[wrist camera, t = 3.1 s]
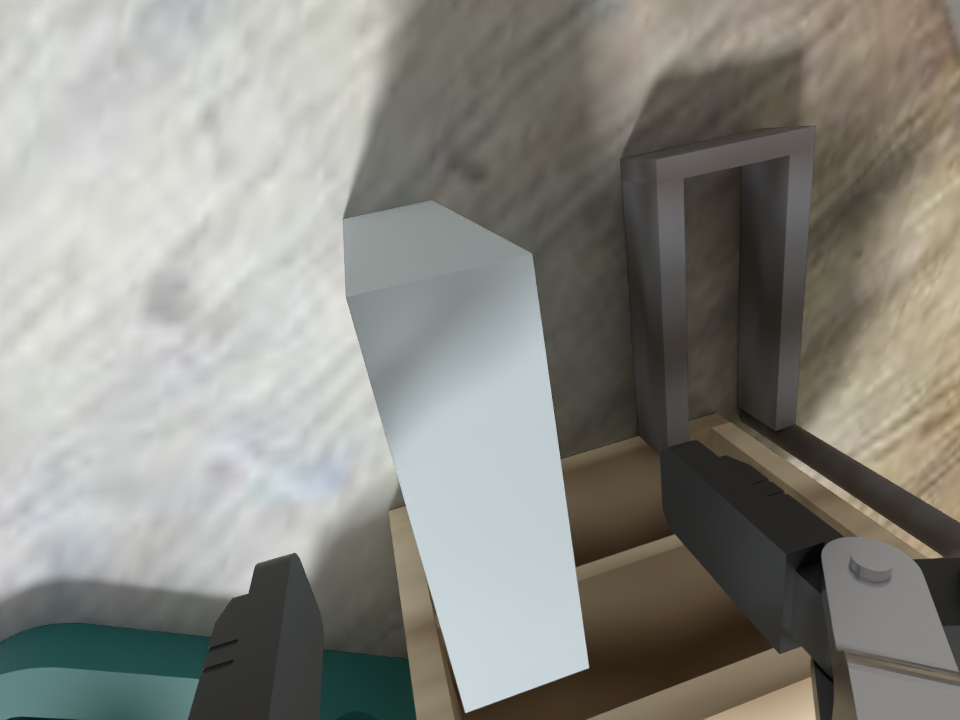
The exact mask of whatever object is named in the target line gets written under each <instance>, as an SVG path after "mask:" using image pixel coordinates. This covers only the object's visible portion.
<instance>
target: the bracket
mask: <svg viewBox="0 0 960 720" xmlns="http://www.w3.org/2000/svg"><path fill="white" fill-rule="evenodd" d="M210 640H211V637H203V636H194V635H185V634H176V633H167V632H157V631H148V630H139V629H130V628H121V627H112V626H102V625H93V624H82V623H61V624H51V625H45V626H40V627H36V628H32V629H29V630H26V631H23V632H20V633H18V634H15V635H13V636H11V637H9V638H7V639H5V640H4V641H2V642H1V643H0V720H188V717H189V714H190V710H191V707H192V703H193V700H194V696H195V692H196V689H197V685H198V682H199V678H200V675H201V674H203V670H202V668H203V664H204V661H205V657H206V654H207V653H209V649H208V647H209V643H210ZM320 720H417V718H416V710H415V703H414V696H413V688H412V681H411V674H410V666H409V659H405V658H396V657H387V656H377V655H368V654H359V653H350V652H341V651H332V650H323V661H322V681H321V701H320Z"/></svg>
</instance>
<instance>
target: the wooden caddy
mask: <svg viewBox="0 0 960 720" xmlns="http://www.w3.org/2000/svg"><path fill="white" fill-rule="evenodd" d="M815 133H816V126H799V127H781V128H764V129H759V130H755V131H750V132H745V133H740V134H736V135H731V136H726V137H722V138H717V139H712V140H707V141H703V142H698V143H693V144H688V145H684V146H679V147H674V148H670V149H665V150H660V151H655V152H651V153H646V154H641V155H636V156H632V157H627V158H622V159H621V174H622V189H623V204H624V219H625V234H626V249H627V264H628V279H629V295H630V310H631V325H632V340H633V355H634V370H635V385H636V400H637V415H638V430H639V436H637V437H633V438H630V439H627V440H623V441H620V442H617V443H613V444H610V445H607V446H603V447H600V448H597V449H593V450H590V451H587V452H583V453H580V454H577V455H573V456H570V457H567V458H563V459H560V460H561V467H562V474H563V481H564V489H565V496H566V503H567V510H568V518H569V525H570V532H571V540H572V547H573V554H574V561H575V569H576V576H577V583H578V590H579V598H580V605H581V612H582V620H583V627H584V634H585V641H586V649H587V656H588V663H589V668H588V669H585V670H582V671H580V672H577V673H574V674H571V675H569V676H566V677H563V678H560V679H558V680H555V681H552V682H549V683H547V684H544V685H541V686H538V687H536V688H533V689H530V690H527V691H525V692H522V693H519V694H517V695H514V696H511V697H508V698H506V699H503V700H500V701H497V702H495V703H492V704H489V705H486V706H484V707H481V708H478V709H475V710H473V711H470V712H467V713H465V710H464V707H463V703H462V700H461V696H460V693H459V689H458V686H457V682H456V679H455V675H454V672H453V668H452V665H451V661H450V658H449V654H448V651H447V647H446V644H445V640H444V637H443V633H442V630H441V626H440V623H439V619H438V616H437V613H436V609H435V606H434V602H433V599H432V595H431V592H430V588H429V585H428V581H427V578H426V574H425V571H424V567H423V564H422V560H421V557H420V553H419V550H418V546H417V543H416V539H415V536H414V532H413V529H412V525H411V522H410V518H409V515H408V512H407V508H406V506H403V507H400V508H396V509H393V510H390V511H388V513H389V520H390V527H391V535H392V542H393V549H394V557H395V564H396V571H397V579H398V586H399V593H400V601H401V608H402V615H403V623H404V630H405V637H406V644H407V652H408V659H409V666H410V674H411V681H412V688H413V696H414V703H415V710H416V718H417V720H816V717H815V708H814V699H813V690H812V681H811V672H810V662H811V656H810V655H809V654H808V653H807V652H806V651H805V650H804V649H803V648H802V647H799V648H796V649H793V650H790V651H788V652H785V653H782V654H779V653H778V652H777V651H776V650H775V649H774V647H773V646H772V645H771V644H770V643H769V642H768V641H767V639H766V638H765V637H764V636H763V635H762V634H761V633H760V631H759V630H758V629H757V628H756V627H755V626H754V625H753V623H752V622H751V621H750V620H749V619H748V618H747V616H746V615H745V614H744V613H743V612H742V611H741V610H740V608H739V607H738V606H737V605H736V604H735V603H734V602H733V600H732V599H731V598H730V597H729V596H728V595H727V594H726V592H725V591H724V590H723V589H722V588H721V587H720V586H719V584H718V583H717V582H716V581H715V580H714V579H713V577H712V576H711V575H710V574H709V573H708V572H707V571H706V569H705V568H704V567H703V566H702V565H701V564H700V563H699V561H698V560H697V559H696V558H695V557H694V556H693V555H692V553H691V552H690V551H689V550H688V549H687V548H686V547H685V545H684V544H683V543H682V542H681V541H680V540H679V538H678V537H677V536H676V535H675V534H674V533H673V531H672V530H671V528H670V526H669V525H668V523H667V520H666V518H665V515H664V512H663V507H662V489H661V466H660V454H661V451H662V450H663V449H664V448H667V447H671V446H674V445H678V444H681V443H685V442H688V441H692V440H697V441H699V442H701V443H702V444H703V445H705V446H706V447H707V448H708V449H710V450H711V451H712V452H713V453H715V454H716V455H717V456H718V457H721V456H724V455H727V456H729V457H732V458H734V459H737V460H739V461H742V462H744V463H747V464H749V465H751V466H752V467H753V468H755V469H756V470H757V471H759V472H760V473H761V474H763V475H764V476H765V477H767V478H768V480H769V482H773V483H774V484H776V485H777V486H778V487H780V488H781V489H782V490H784V493H785V494H789V495H790V496H792V497H793V498H794V499H795V500H797V501H798V502H799V503H801V504H802V505H803V506H805V507H806V508H807V509H809V510H810V511H811V512H813V513H814V514H815V515H817V516H818V517H819V518H820V519H822V520H823V521H824V522H826V523H827V524H828V525H830V526H831V527H832V528H834V529H835V530H836V531H838V532H839V533H840V534H841V535H843V536H844V537H863V538H869V539H873V540H877V541H880V542H883V543H886V544H889V545H891V546H893V547H895V548H897V549H899V550H900V551H902V552H904V553H905V554H906V555H908V556H909V557H910V558H911V559H928V558H927V557H925V556H924V555H922V554H921V553H919V552H918V551H916V550H915V549H914V548H912V547H911V546H909V545H908V544H906V543H905V542H903V541H902V540H901V539H899V538H898V537H896V536H895V535H893V534H892V533H890V532H889V531H888V530H886V529H885V528H883V527H882V526H880V525H879V524H877V523H876V522H875V521H873V520H872V519H870V518H869V517H867V516H866V515H864V514H863V513H862V512H860V511H859V510H857V509H856V508H854V507H853V506H851V505H850V504H849V503H847V502H846V501H844V500H843V499H841V498H840V497H838V496H837V495H836V494H834V493H833V492H831V491H830V490H828V489H827V488H825V487H824V486H823V485H821V484H820V483H818V482H817V481H815V480H814V479H812V478H811V477H810V476H808V475H807V474H805V473H804V472H802V471H801V470H799V469H798V468H797V467H795V466H794V465H792V464H791V463H789V462H788V461H786V460H785V459H784V458H782V457H781V456H779V455H778V454H776V453H775V452H773V451H772V450H770V449H769V448H768V447H766V446H765V445H763V444H762V443H760V442H759V441H757V440H756V439H755V438H753V437H752V436H750V435H749V434H747V433H746V432H744V431H743V430H742V429H740V428H739V427H737V426H736V425H734V424H733V423H731V422H730V421H729V420H727V419H726V418H724V417H723V416H721V415H720V414H718V413H714V414H710V415H707V416H704V417H700V418H697V419H694V420H690V421H689V400H688V355H687V311H686V266H685V221H684V179H685V178H689V177H694V176H698V175H703V174H707V173H712V172H716V171H721V170H725V169H730V168H734V167H739V166H742V185H741V238H740V290H739V343H738V396H737V407H739V408H741V409H742V412H741V420H742V421H743V422H744V423H745V424H747V425H748V426H750V427H751V428H753V429H754V430H756V431H757V432H759V433H760V434H762V435H763V436H765V437H766V438H768V439H769V440H771V441H772V442H774V443H775V444H776V445H778V446H779V447H781V448H782V449H784V450H785V451H787V452H788V453H790V454H791V455H793V456H794V457H796V458H797V459H799V460H800V461H802V462H803V463H805V464H806V465H808V466H809V467H811V468H812V469H814V470H815V471H817V472H818V473H820V474H821V475H823V476H824V477H826V478H827V479H829V480H830V481H832V482H833V483H835V484H836V485H838V486H839V487H841V488H842V489H844V490H845V491H847V492H848V493H850V494H851V495H853V496H854V497H855V498H857V499H858V500H860V501H861V502H863V503H864V504H866V505H867V506H869V507H870V508H872V509H873V510H875V511H876V512H878V513H879V514H881V515H882V516H884V517H885V518H887V519H888V520H890V521H891V522H893V523H894V524H896V525H897V526H899V527H900V528H902V529H903V530H905V531H906V532H908V533H909V534H911V535H912V536H914V537H915V538H917V539H918V540H920V541H921V542H923V543H924V544H926V545H927V546H929V547H930V548H932V549H933V550H934V551H936V552H937V553H939V554H940V555H942V556H943V557H945V558H960V523H959V522H957V521H956V520H954V519H952V518H951V517H949V516H947V515H946V514H944V513H942V512H941V511H939V510H937V509H936V508H934V507H932V506H931V505H929V504H927V503H926V502H924V501H922V500H921V499H919V498H917V497H916V496H914V495H912V494H911V493H909V492H907V491H906V490H904V489H902V488H901V487H899V486H897V485H896V484H894V483H892V482H891V481H889V480H887V479H886V478H884V477H882V476H881V475H879V474H877V473H876V472H874V471H872V470H871V469H869V468H867V467H866V466H864V465H862V464H861V463H859V462H857V461H856V460H854V459H852V458H851V457H849V456H847V455H846V454H844V453H842V452H841V451H839V450H837V449H836V448H834V447H832V446H831V445H829V444H827V443H826V442H824V441H822V440H821V439H819V438H817V437H816V436H814V435H812V434H811V433H809V432H807V431H806V430H804V429H802V428H801V427H799V426H797V425H796V424H795V421H796V407H797V392H798V378H799V364H800V349H801V335H802V320H803V306H804V291H805V277H806V263H807V248H808V234H809V219H810V205H811V190H812V176H813V162H814V147H815Z"/></svg>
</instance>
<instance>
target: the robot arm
mask: <svg viewBox="0 0 960 720" xmlns="http://www.w3.org/2000/svg"><path fill="white" fill-rule="evenodd" d="M660 466H661V489H662V507H663V512H664V515H665V518H666V520H667V523H668V525H669V526H670V528H671V530H672V531H673V533H674V534H675V535H676V536H677V537H678V538H679V540H680V541H681V542H682V543H683V544H684V545H685V547H686V548H687V549H688V550H689V551H690V552H691V553H692V555H693V556H694V557H695V558H696V559H697V560H698V561H699V563H700V564H701V565H702V566H703V567H704V568H705V569H706V571H707V572H708V573H709V574H710V575H711V576H712V577H713V579H714V580H715V581H716V582H717V583H718V584H719V586H720V587H721V588H722V589H723V590H724V591H725V592H726V594H727V595H728V596H729V597H730V598H731V599H732V600H733V602H734V603H735V604H736V605H737V606H738V607H739V608H740V610H741V611H742V612H743V613H744V614H745V615H746V616H747V618H748V619H749V620H750V621H751V622H752V623H753V625H754V626H755V627H756V628H757V629H758V630H759V631H760V633H761V634H762V635H763V636H764V637H765V638H766V639H767V641H768V642H769V643H770V644H771V645H772V646H773V647H774V649H775V650H776V651H777V652H778V653H779V654H782V653H785V652H788V651H790V650H793V649H796V648H799V647H802V648H803V649H804V650H805V651H806V652H807V653H808V654H809V655H810V656H811V662H810V672H811V681H812V690H813V699H814V708H815V717H816V720H960V558H935V559H911V558H910V557H909V556H908V555H906V554H905V553H904V552H902V551H900V550H899V549H897V548H895V547H893V546H891V545H889V544H886V543H883V542H880V541H877V540H873V539H869V538H863V537H844V536H843V535H841V534H840V533H839V532H838V531H836V530H835V529H834V528H832V527H831V526H830V525H828V524H827V523H826V522H824V521H823V520H822V519H820V518H819V517H818V516H817V515H815V514H814V513H813V512H811V511H810V510H809V509H807V508H806V507H805V506H803V505H802V504H801V503H799V502H798V501H797V500H795V499H794V498H793V497H792V496H790V495H789V494H785V493H784V490H782V489H781V488H780V487H778V486H777V485H776V484H774V483H773V482H769V480H768V478H767V477H765V476H764V475H763V474H761V473H760V472H759V471H757V470H756V469H755V468H753V467H752V466H751V465H749V464H747V463H744V462H742V461H739V460H737V459H734V458H732V457H729V456H727V455H724V456H721V457H718V456H717V455H716V454H715V453H713V452H712V451H711V450H710V449H708V448H707V447H706V446H705V445H703V444H702V443H701V442H699V441H697V440H692V441H688V442H685V443H681V444H678V445H674V446H671V447H667V448H664V449H663V450H662V451H661V454H660ZM208 649H209V653H207V654H206V657H205V661H204V664H203V668H202V670H203V674H201V675H200V678H199V682H198V685H197V689H196V692H195V696H194V700H193V703H192V707H191V710H190V714H189V717H188V720H320V701H321V681H322V661H323V626H322V620H321V615H320V611H319V608H318V605H317V603H316V600H315V597H314V595H313V592H312V590H311V587H310V584H309V582H308V579H307V576H306V574H305V571H304V568H303V566H302V563H301V561H300V558H299V557H298V555H297V554H296V553H293V554H289V555H286V556H282V557H279V558H275V559H272V560H268V561H265V562H261V563H258V564H257V565H256V566H255V569H254V572H253V577H252V581H251V586H250V590H249V594H246V595H242V596H239V597H236V598H232V600H231V601H230V603H229V604H228V606H227V607H226V608H225V610H224V611H223V613H222V614H221V616H220V617H219V618H218V620H217V621H216V623H215V626H214V629H213V633H212V636H211V640H210V643H209V647H208Z"/></svg>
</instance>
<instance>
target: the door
mask: <svg viewBox="0 0 960 720" xmlns="http://www.w3.org/2000/svg"><path fill="white" fill-rule="evenodd" d="M343 239H344V263H345V287H346V299H347V303H348V306H349V309H350V313H351V316H352V320H353V323H354V327H355V330H356V334H357V337H358V341H359V344H360V348H361V351H362V355H363V358H364V362H365V365H366V369H367V372H368V376H369V379H370V383H371V386H372V390H373V393H374V397H375V400H376V404H377V407H378V411H379V414H380V417H381V421H382V424H383V428H384V431H385V435H386V438H387V442H388V445H389V449H390V452H391V456H392V459H393V463H394V466H395V470H396V473H397V477H398V480H399V484H400V487H401V491H402V494H403V498H404V501H405V505H406V508H407V512H408V515H409V518H410V522H411V525H412V529H413V532H414V536H415V539H416V543H417V546H418V550H419V553H420V557H421V560H422V564H423V567H424V571H425V574H426V578H427V581H428V585H429V588H430V592H431V595H432V599H433V602H434V606H435V609H436V613H437V616H438V619H439V623H440V626H441V630H442V633H443V637H444V640H445V644H446V647H447V651H448V654H449V658H450V661H451V665H452V668H453V672H454V675H455V679H456V682H457V686H458V689H459V693H460V696H461V700H462V703H463V707H464V710H465V713H467V712H470V711H473V710H475V709H478V708H481V707H484V706H486V705H489V704H492V703H495V702H497V701H500V700H503V699H506V698H508V697H511V696H514V695H517V694H519V693H522V692H525V691H527V690H530V689H533V688H536V687H538V686H541V685H544V684H547V683H549V682H552V681H555V680H558V679H560V678H563V677H566V676H569V675H571V674H574V673H577V672H580V671H582V670H585V669H588V668H589V663H588V656H587V649H586V641H585V634H584V627H583V620H582V612H581V605H580V598H579V590H578V583H577V576H576V569H575V561H574V554H573V547H572V540H571V532H570V525H569V518H568V510H567V503H566V496H565V489H564V481H563V474H562V467H561V460H560V452H559V445H558V438H557V430H556V423H555V416H554V409H553V401H552V394H551V387H550V379H549V372H548V365H547V358H546V350H545V343H544V336H543V329H542V321H541V314H540V307H539V299H538V292H537V285H536V278H535V270H534V263H533V256H532V253H530V252H528V251H527V250H525V249H523V248H521V247H519V246H517V245H515V244H513V243H512V242H510V241H508V240H506V239H504V238H502V237H500V236H499V235H497V234H495V233H493V232H491V231H489V230H487V229H485V228H484V227H482V226H480V225H478V224H476V223H474V222H472V221H470V220H469V219H467V218H465V217H463V216H461V215H459V214H457V213H455V212H454V211H452V210H450V209H448V208H446V207H444V206H442V205H440V204H439V203H437V202H435V201H433V200H430V201H425V202H420V203H416V204H411V205H406V206H402V207H397V208H392V209H387V210H383V211H378V212H373V213H369V214H364V215H359V216H354V217H350V218H345V219H343Z"/></svg>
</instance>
